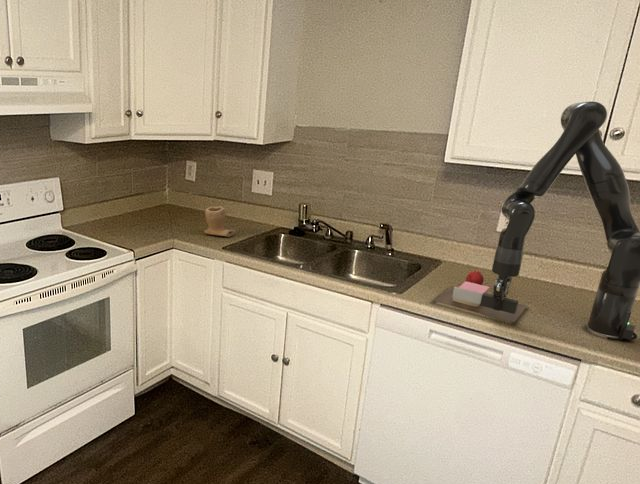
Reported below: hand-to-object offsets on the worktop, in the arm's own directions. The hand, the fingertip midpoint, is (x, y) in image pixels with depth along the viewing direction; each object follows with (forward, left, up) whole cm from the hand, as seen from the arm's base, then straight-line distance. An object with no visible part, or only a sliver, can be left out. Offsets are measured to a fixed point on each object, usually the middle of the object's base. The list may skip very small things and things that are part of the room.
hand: (497, 308), depth 175 cm
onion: (+13, -25, -4) cm, 28 cm away
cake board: (+7, -8, -3) cm, 11 cm away
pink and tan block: (+10, -4, -2) cm, 12 cm away
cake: (+10, -12, -2) cm, 16 cm away
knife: (+5, 0, 0) cm, 5 cm away
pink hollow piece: (+128, -11, -4) cm, 129 cm away
